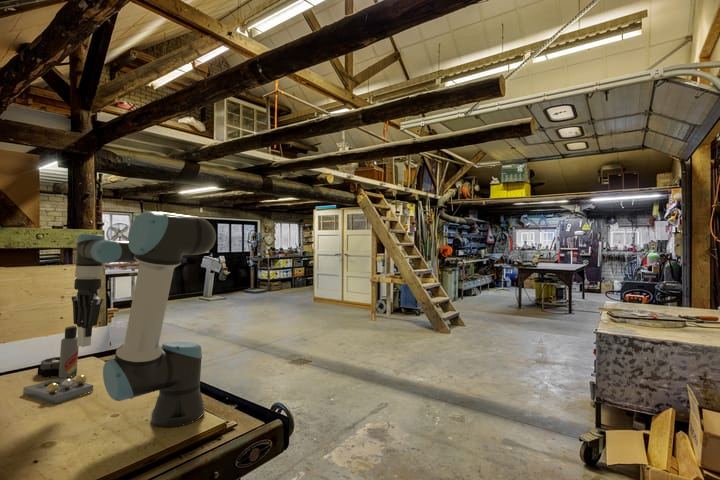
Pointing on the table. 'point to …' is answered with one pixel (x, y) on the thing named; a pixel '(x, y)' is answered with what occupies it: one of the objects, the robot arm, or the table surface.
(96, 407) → the table surface
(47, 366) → the cpu cooler
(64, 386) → the steel ball
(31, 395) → the bearing plate
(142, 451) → the table surface
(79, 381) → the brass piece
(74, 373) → the lotion bottle
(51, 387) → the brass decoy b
